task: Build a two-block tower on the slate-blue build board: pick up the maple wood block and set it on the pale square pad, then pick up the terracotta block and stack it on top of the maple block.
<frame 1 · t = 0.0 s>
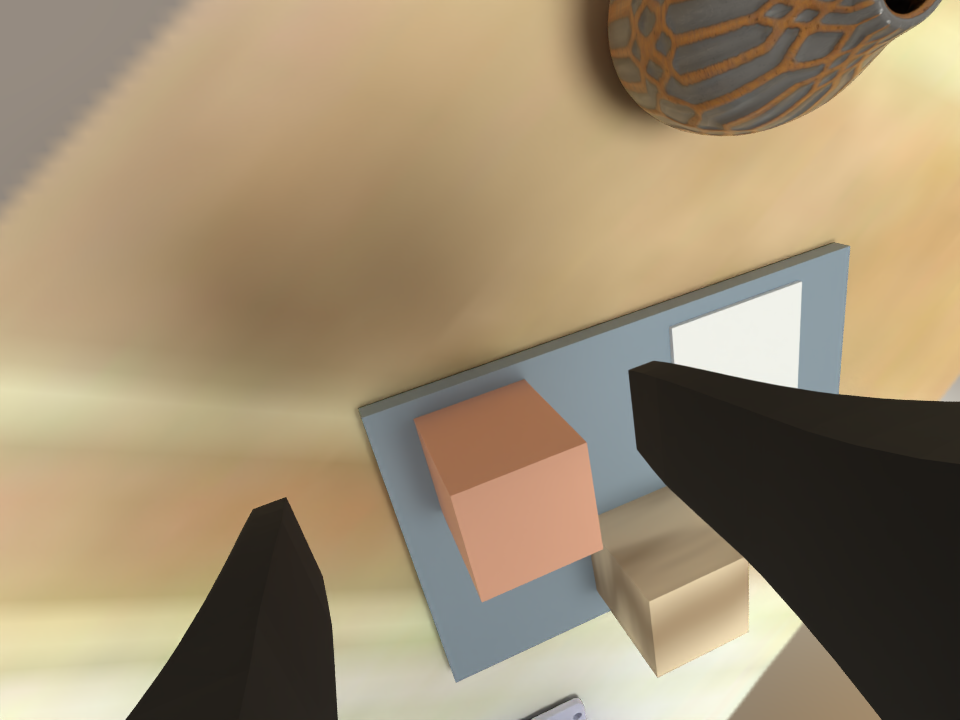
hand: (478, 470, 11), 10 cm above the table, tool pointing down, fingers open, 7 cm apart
vase: (662, 26, 20), on the table
terracotta block: (482, 446, 23), point 1 cm above the table, touching build board
build board: (635, 463, 27), on the table
maple block: (632, 538, 27), point 1 cm above the table, touching build board
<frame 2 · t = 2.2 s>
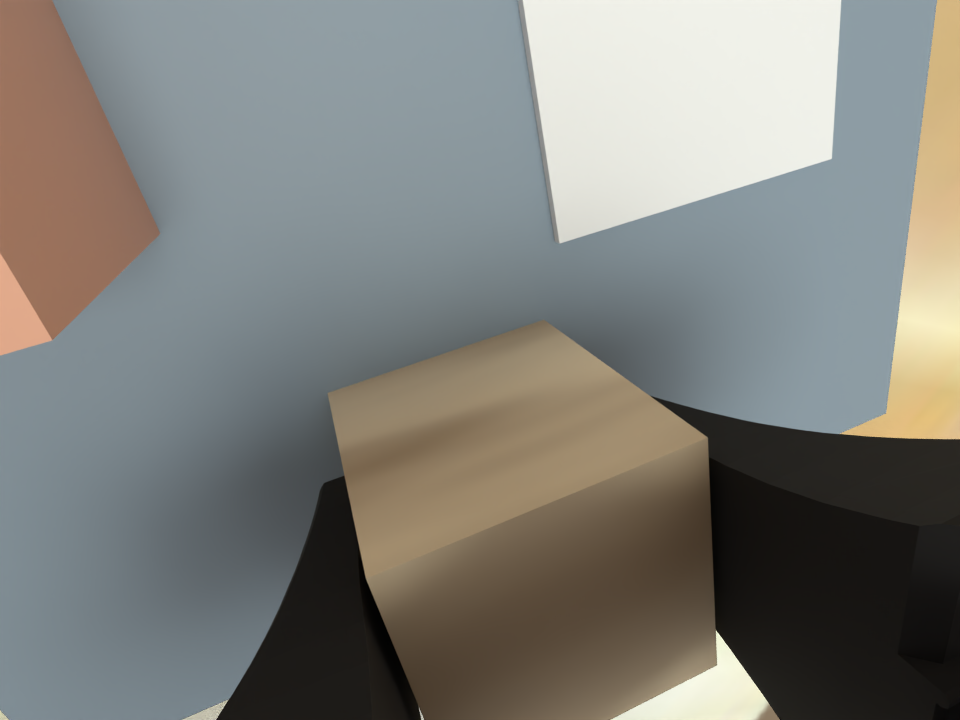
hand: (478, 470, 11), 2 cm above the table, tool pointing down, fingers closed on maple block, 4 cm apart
build board: (461, 270, 12), on the table
maple block: (465, 447, 12), point 1 cm above the table, touching build board, gripper
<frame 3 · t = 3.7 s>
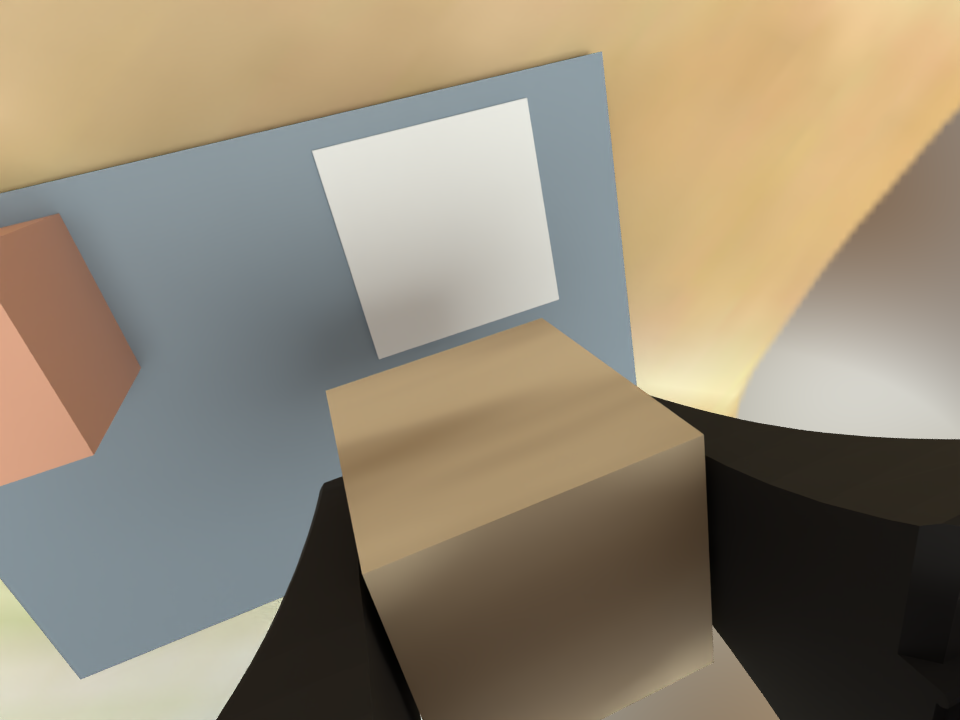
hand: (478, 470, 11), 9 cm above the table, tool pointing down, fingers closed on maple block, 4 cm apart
terracotta block: (11, 320, 15), point 1 cm above the table, touching build board
build board: (325, 372, 19), on the table
maple block: (463, 445, 12), point 8 cm above the table, touching gripper
when the fingers open (3 cm above the table, at t = 5.6 s): maple block stays where it is, resting on build board.
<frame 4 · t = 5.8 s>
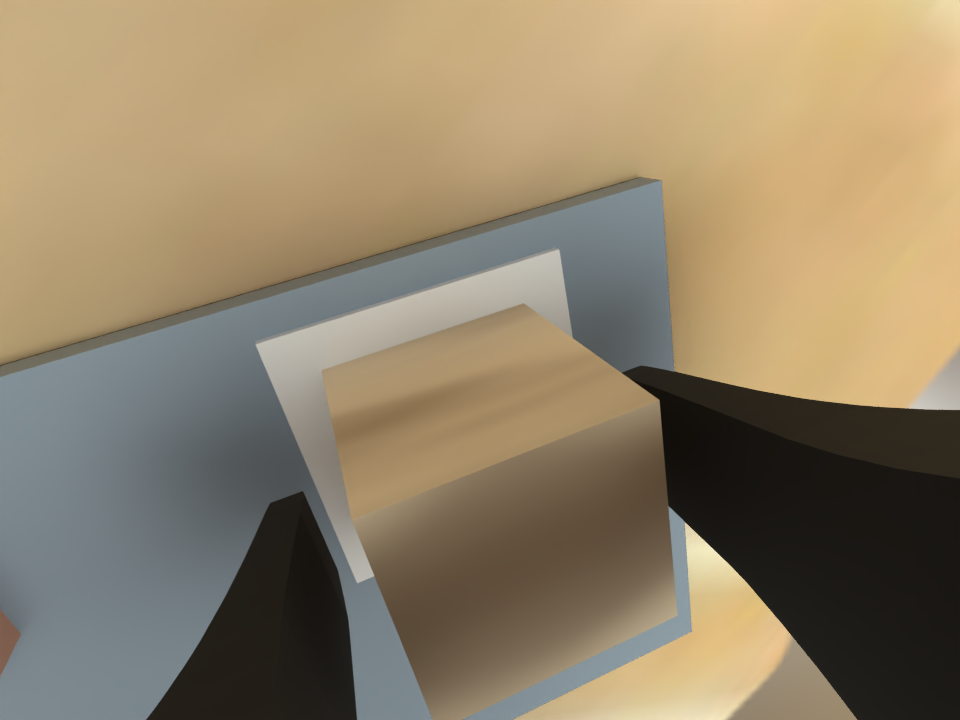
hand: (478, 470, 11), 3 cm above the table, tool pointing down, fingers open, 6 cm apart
build board: (287, 590, 14), on the table
maple block: (450, 423, 13), point 1 cm above the table, touching build board
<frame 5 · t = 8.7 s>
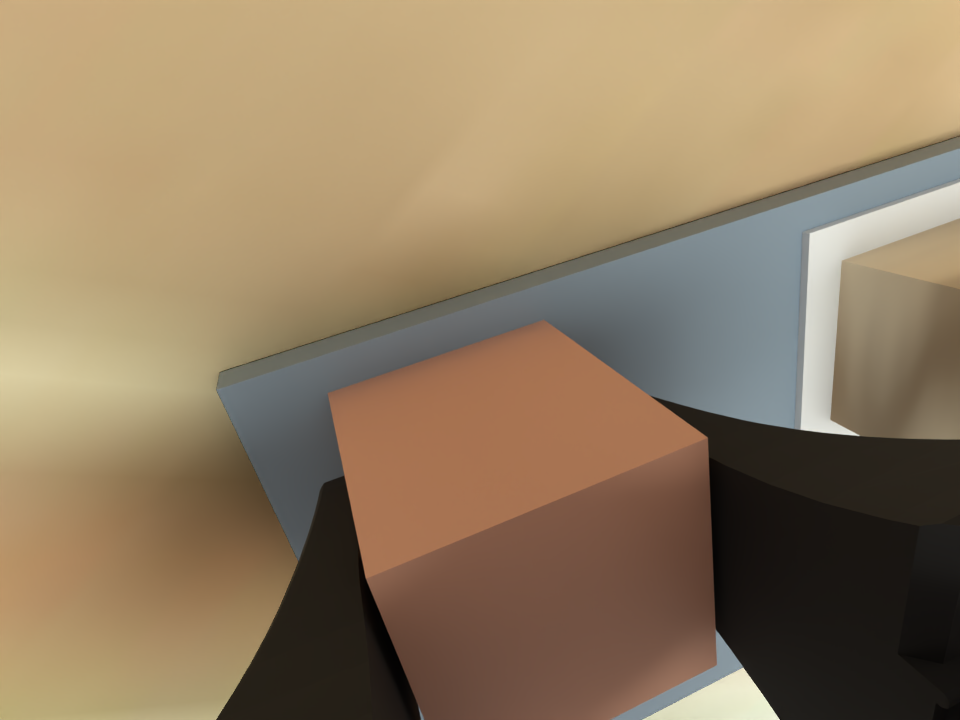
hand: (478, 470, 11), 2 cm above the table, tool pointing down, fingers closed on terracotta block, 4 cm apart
terracotta block: (465, 447, 12), point 1 cm above the table, touching build board, gripper
build board: (720, 475, 16), on the table
maple block: (904, 318, 15), point 1 cm above the table, touching build board
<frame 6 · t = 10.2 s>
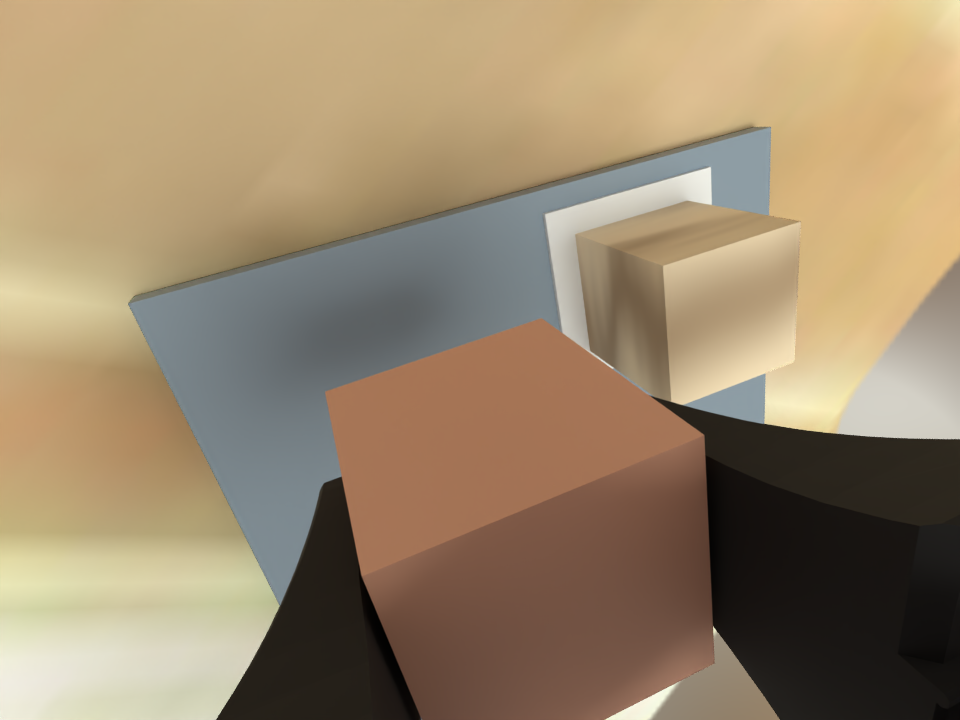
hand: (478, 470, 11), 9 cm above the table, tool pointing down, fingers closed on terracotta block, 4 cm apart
terracotta block: (463, 446, 12), point 8 cm above the table, touching gripper
build board: (519, 393, 22), on the table
maple block: (637, 277, 21), point 1 cm above the table, touching build board
when the fingers open (8 cm above the table, at t = 11.5 s): terracotta block stays where it is, resting on maple block.
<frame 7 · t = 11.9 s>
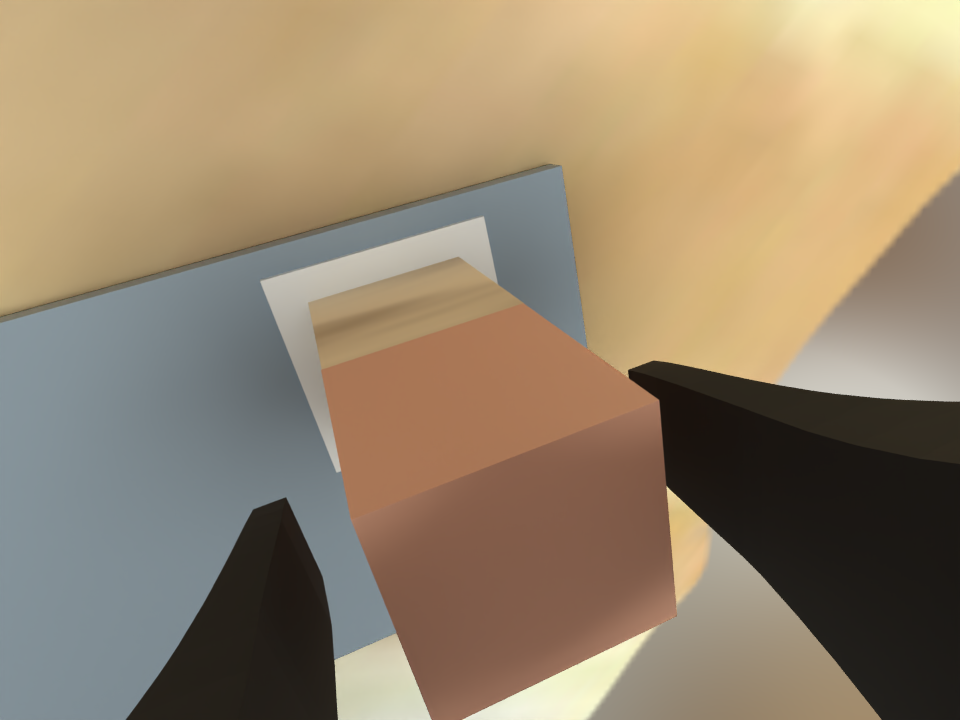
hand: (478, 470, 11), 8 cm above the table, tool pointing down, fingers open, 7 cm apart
terracotta block: (450, 423, 13), point 6 cm above the table, touching maple block
build board: (284, 481, 19), on the table
maple block: (406, 348, 17), point 1 cm above the table, touching build board, terracotta block
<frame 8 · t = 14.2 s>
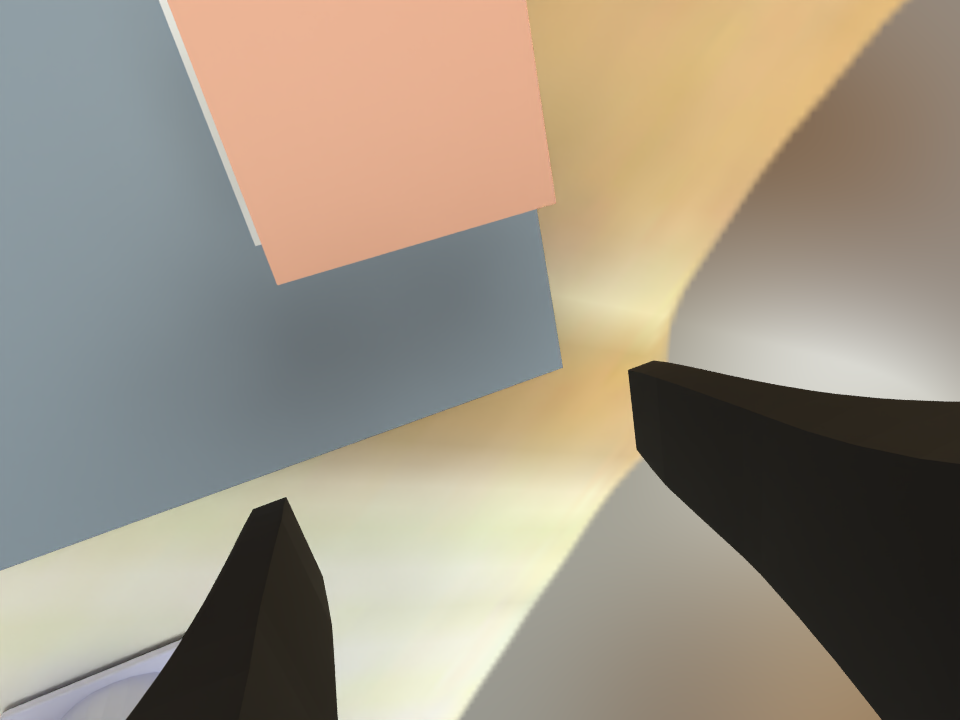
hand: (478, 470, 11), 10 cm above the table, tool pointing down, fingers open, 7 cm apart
terracotta block: (342, 97, 12), point 6 cm above the table, touching maple block
build board: (203, 263, 18), on the table
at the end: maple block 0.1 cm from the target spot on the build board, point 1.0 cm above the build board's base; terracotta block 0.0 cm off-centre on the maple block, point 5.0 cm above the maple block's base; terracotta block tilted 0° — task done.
